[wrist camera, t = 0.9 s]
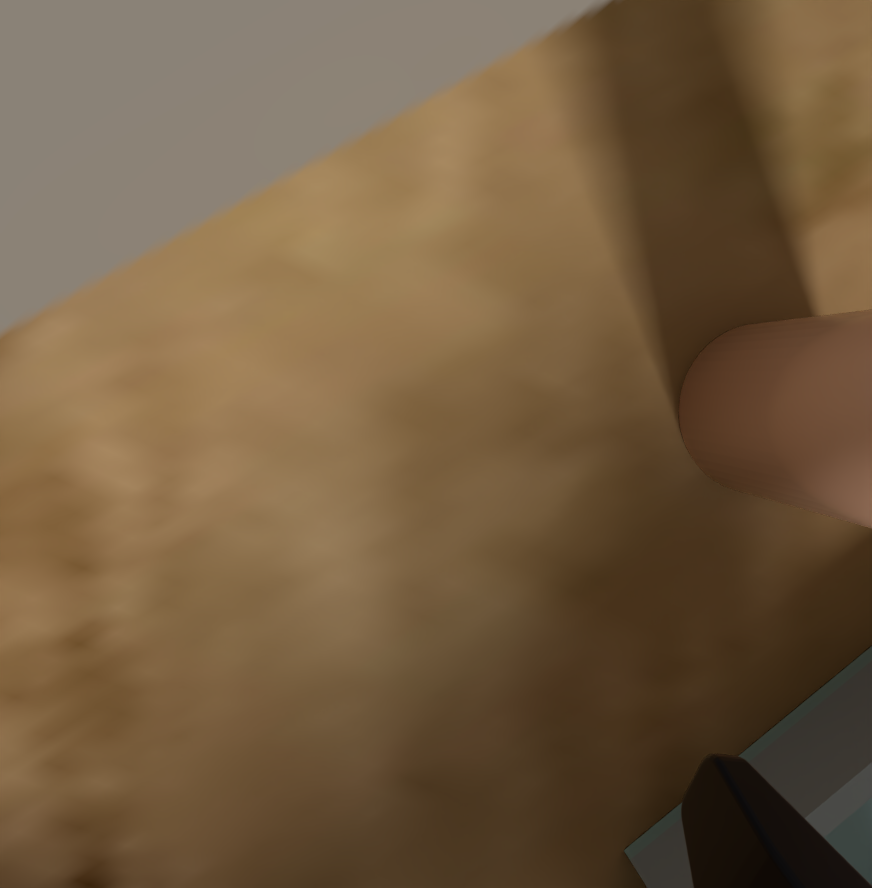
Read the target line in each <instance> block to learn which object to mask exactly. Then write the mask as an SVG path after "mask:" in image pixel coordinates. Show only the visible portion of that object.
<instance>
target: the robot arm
mask: <svg viewBox="0 0 872 888" xmlns="http://www.w3.org/2000/svg"><path fill="white" fill-rule="evenodd" d="M681 818H682V825H683V831H684V836H685V842H686V848H687V853H688V859H689V865H690V870H691V876H692V882H693V887H694V888H872V885H871V884H870V883H869V882H868V881H867V880H866V879H865V878H864V877H863V876H862V875H861V874H860V873H859V872H858V871H857V870H856V869H855V868H854V867H853V866H852V865H851V864H850V863H849V862H848V861H847V860H846V859H845V858H844V857H843V856H842V855H841V854H840V853H839V852H838V851H837V850H836V849H835V848H834V847H833V846H832V845H831V844H830V843H829V842H828V841H827V840H826V839H825V838H824V837H823V836H822V835H821V834H820V833H819V832H818V831H817V830H816V829H815V828H814V827H813V826H812V825H811V824H810V823H809V822H808V821H807V820H806V819H805V818H804V817H803V816H802V815H801V814H800V813H799V812H798V811H797V810H796V809H795V808H794V807H793V806H792V805H791V804H790V803H789V802H788V801H787V800H786V799H785V798H784V797H783V796H782V795H781V794H780V793H779V792H778V791H777V790H776V789H775V788H774V787H773V786H772V785H771V784H770V783H769V782H768V781H767V780H766V779H765V778H764V777H763V776H762V775H761V774H760V773H759V772H758V771H757V770H756V769H755V768H754V767H753V766H752V765H751V764H750V763H749V762H748V761H746V760H745V759H743V758H742V757H739V756H734V755H723V754H709V755H708V756H706V757H705V758H704V759H703V760H702V762H701V764H700V766H699V768H698V770H697V772H696V773H695V775H694V777H693V779H692V781H691V783H690V785H689V787H688V789H687V791H686V793H685V794H684V797H683V800H682V805H681Z"/></svg>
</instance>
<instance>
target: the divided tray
mask: <svg viewBox="0 0 872 888" xmlns="http://www.w3.org/2000/svg"><path fill="white" fill-rule="evenodd" d="M739 757H742V758H743V759H745V760H746V761H748V762H749V763H750V764H751V765H752V766H753V767H754V768H755V769H756V770H757V771H758V772H759V773H760V774H761V775H762V776H763V777H764V778H765V779H766V780H767V781H768V782H769V783H770V784H771V785H772V786H773V787H774V788H775V789H776V790H777V791H778V792H779V793H780V794H781V795H782V796H783V797H784V798H785V799H786V800H787V801H788V802H789V803H790V804H791V805H792V806H793V807H794V808H795V809H796V810H797V811H798V812H799V813H800V814H801V815H802V816H803V817H804V818H805V819H806V820H807V821H808V822H809V823H810V824H811V825H812V826H813V827H814V828H815V829H816V830H817V831H818V832H819V833H820V834H821V835H822V836H823V837H824V838H825V839H826V840H827V841H828V842H829V843H830V844H831V845H832V846H833V847H834V848H835V849H836V850H837V851H838V852H839V853H840V854H841V855H842V856H843V857H844V858H845V859H846V860H847V861H848V862H849V863H850V864H851V865H852V866H853V867H854V868H855V869H856V870H857V871H858V872H859V873H860V874H861V875H862V876H863V877H864V878H865V879H866V880H867V881H868V882H869V883H870V884H871V885H872V646H871V647H870V648H869V649H868V650H866V651H865V652H864V653H863V654H862V655H860V656H859V657H858V658H857V659H856V660H854V661H853V662H852V663H851V664H849V665H848V666H847V667H846V668H845V669H843V670H842V671H841V672H840V673H839V674H837V675H836V676H835V677H834V678H832V679H831V680H830V681H829V682H828V683H826V684H825V685H824V686H823V687H822V688H820V689H819V690H818V691H817V692H815V693H814V694H813V695H812V696H811V697H809V698H808V699H807V700H806V701H804V702H803V703H802V704H801V705H800V706H798V707H797V708H796V709H795V710H794V711H792V712H791V713H790V714H789V715H787V716H786V717H785V718H784V719H783V720H781V721H780V722H779V723H778V724H777V725H775V726H774V727H773V728H772V729H770V730H769V731H768V732H767V733H766V734H764V735H763V736H762V737H761V738H760V739H758V740H757V741H756V742H755V743H753V744H752V745H751V746H750V747H749V748H747V749H746V750H745V751H744V752H743V753H741V754H740V755H739ZM681 805H682V803H681V804H679V805H678V806H677V807H676V808H675V809H673V810H672V811H671V812H670V813H668V814H667V815H666V816H665V817H664V818H662V819H661V820H660V821H659V822H658V823H656V824H655V825H654V826H653V827H651V828H650V829H649V830H648V831H647V832H645V833H644V834H643V835H642V836H641V837H639V838H638V839H637V840H636V841H634V842H633V843H632V844H631V845H630V846H628V847H627V848H626V849H625V850H624V852H625V853H626V855H627V856H628V858H629V859H630V861H631V863H632V864H633V866H634V867H635V869H636V871H637V872H638V874H639V875H640V877H641V879H642V880H643V882H644V883H645V885H646V887H647V888H694V887H693V882H692V876H691V870H690V865H689V859H688V853H687V848H686V842H685V836H684V831H683V825H682V818H681Z"/></svg>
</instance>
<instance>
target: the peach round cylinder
mask: <svg viewBox="0 0 872 888" xmlns="http://www.w3.org/2000/svg"><path fill="white" fill-rule="evenodd" d="M679 422H680V429H681V433H682V437H683V440H684V443H685V445H686V448H687V450H688V452H689V453H690V455H691V457H692V459H693V460H694V461H695V463H696V464H697V465H698V467H699V468H700V469H701V470H702V471H703V472H704V473H705V474H706V475H708V476H709V477H710V478H711V479H713V480H714V481H716V482H718V483H719V484H721V485H723V486H725V487H728V488H730V489H733V490H737V491H740V492H744V493H747V494H751V495H754V496H758V497H762V498H765V499H769V500H772V501H776V502H779V503H783V504H787V505H790V506H794V507H797V508H801V509H804V510H808V511H812V512H815V513H819V514H822V515H826V516H829V517H833V518H837V519H840V520H844V521H847V522H851V523H854V524H858V525H862V526H865V527H869V528H872V310H864V311H855V312H847V313H839V314H830V315H822V316H814V317H805V318H797V319H789V320H781V321H772V322H764V323H756V324H749V325H744V326H740V327H737V328H734V329H732V330H729V331H727V332H725V333H723V334H722V335H720V336H719V337H717V338H716V339H714V340H713V341H712V342H711V343H709V344H708V345H707V346H706V347H705V348H704V349H703V350H702V351H701V352H700V354H699V355H698V356H697V358H696V359H695V360H694V362H693V363H692V365H691V367H690V369H689V370H688V372H687V375H686V377H685V380H684V382H683V386H682V390H681V394H680V401H679Z"/></svg>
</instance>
